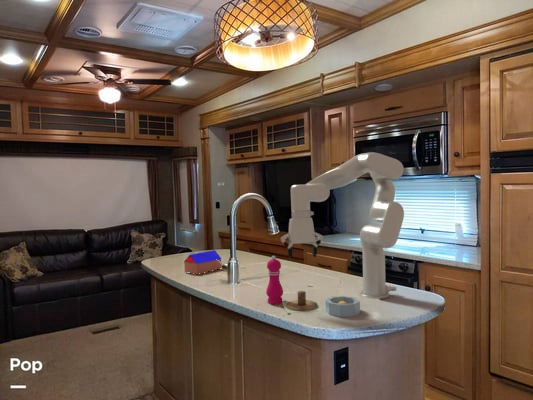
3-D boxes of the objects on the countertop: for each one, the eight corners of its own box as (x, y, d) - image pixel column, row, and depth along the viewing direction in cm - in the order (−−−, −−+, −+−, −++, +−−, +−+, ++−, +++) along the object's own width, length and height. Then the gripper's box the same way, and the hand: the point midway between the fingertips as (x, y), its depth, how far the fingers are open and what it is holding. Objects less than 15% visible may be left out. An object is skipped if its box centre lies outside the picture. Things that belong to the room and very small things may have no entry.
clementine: (346, 309, 151) (346, 299, 151) (349, 312, 148) (349, 302, 147) (336, 310, 151) (336, 300, 151) (339, 313, 147) (339, 303, 147)
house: (222, 269, 241) (221, 250, 241) (197, 275, 226) (196, 255, 226) (209, 267, 249) (208, 249, 249) (184, 273, 234) (183, 253, 233)
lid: (313, 301, 165) (313, 287, 164) (320, 310, 152) (320, 295, 152) (284, 302, 163) (283, 289, 163) (289, 311, 151) (288, 297, 151)
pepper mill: (273, 305, 161) (272, 257, 161) (263, 302, 167) (261, 255, 167) (286, 302, 166) (285, 255, 165) (276, 299, 171) (275, 253, 171)
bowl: (352, 307, 156) (352, 295, 156) (363, 317, 144) (363, 303, 144) (323, 309, 155) (323, 296, 154) (331, 319, 143) (331, 305, 143)
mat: (314, 301, 165) (314, 300, 165) (323, 311, 152) (323, 310, 151) (282, 303, 164) (282, 302, 164) (287, 314, 150) (287, 312, 150)
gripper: (319, 213, 162) (321, 254, 162) (278, 215, 160) (280, 256, 160) (324, 214, 154) (325, 257, 155) (281, 216, 152) (282, 260, 153)
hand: (302, 257), depth 158 cm, fingers open, 9 cm apart
